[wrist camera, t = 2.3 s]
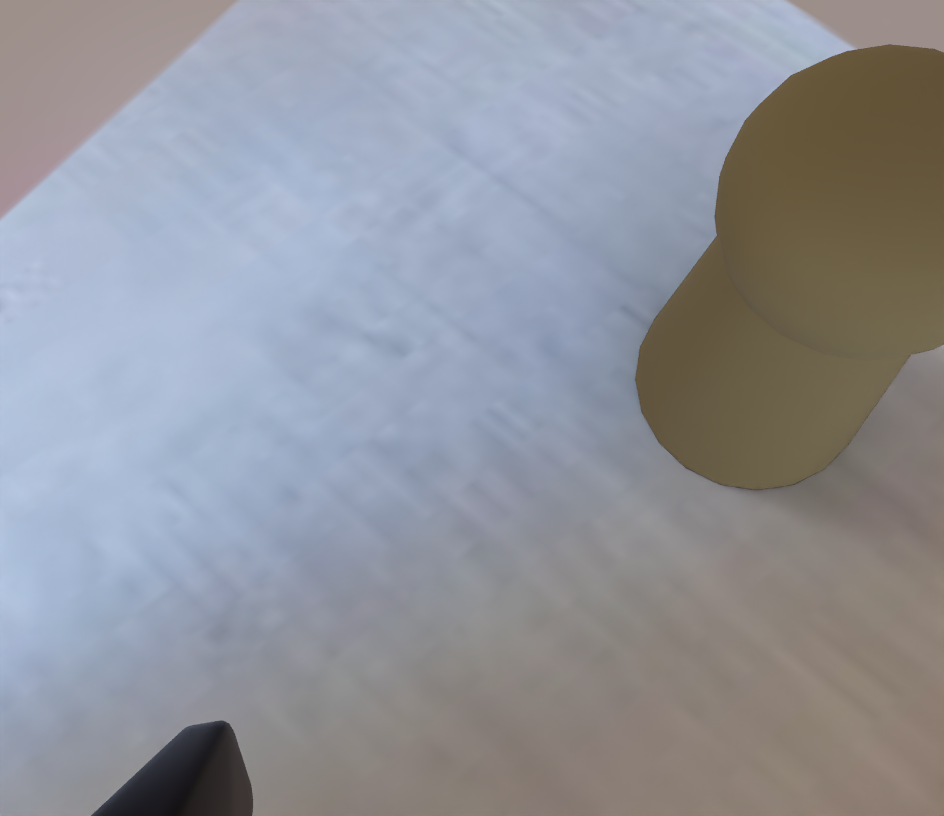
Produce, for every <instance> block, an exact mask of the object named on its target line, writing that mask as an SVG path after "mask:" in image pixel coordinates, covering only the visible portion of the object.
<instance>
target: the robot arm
mask: <svg viewBox="0 0 944 816" xmlns="http://www.w3.org/2000/svg"><path fill="white" fill-rule="evenodd" d="M252 812H253V794H252V787H251V783H250V780H249V777H248V773H247V770H246V767H245V764H244V761H243V758H242V755H241V752H240V749H239V746H238V742H237V739H236V736H235V733H234V731H233V729H232V727H231V726H230V724H229V723H227V722H225V721H215V722H209V723H203V724H197V725H192V726H188V727H186V728H185V729H184V730H182V731H181V732H180V733H179V734H178V735H177V736H176V737H175V738H174V739H172V740H171V741H170V742H169V743H168V744H167V745H166V746H165V747H164V748H163V749H162V750H161V751H160V752H159V753H157V754H156V755H155V756H154V757H153V758H152V759H151V760H150V761H149V762H148V763H147V764H146V765H145V766H144V767H143V768H141V769H140V770H139V771H138V772H137V773H136V774H135V775H134V776H133V777H132V778H131V779H130V780H129V781H128V782H127V783H125V784H124V785H123V786H122V787H121V788H120V789H119V790H118V791H117V792H116V793H115V794H114V795H113V796H112V797H110V798H109V799H108V800H107V801H106V802H105V803H104V804H103V805H102V806H101V807H100V808H99V809H98V810H97V811H96V812H94V813H93V814H92V815H91V816H252Z"/></svg>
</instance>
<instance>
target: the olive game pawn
mask: <svg viewBox="0 0 944 816" xmlns="http://www.w3.org/2000/svg"><path fill="white" fill-rule="evenodd" d="M715 224H716V232H717V236H716V238H715V239H714V240H713V242H712V243H711V244H710V246H709V247H708V248H707V250H706V251H705V252H704V254H703V255H702V256H701V258H700V259H699V260H698V262H697V263H696V264H695V266H694V267H693V268H692V270H691V271H690V272H689V274H688V275H687V276H686V278H685V279H684V280H683V282H682V283H681V284H680V286H679V287H678V288H677V290H676V291H675V292H674V294H673V295H672V296H671V298H670V299H669V300H668V302H667V303H666V304H665V306H664V307H663V308H662V310H661V311H660V312H659V314H658V315H657V316H656V318H655V319H654V321H653V323H652V325H651V327H650V329H649V331H648V333H647V335H646V336H645V338H644V340H643V342H642V344H641V346H640V350H639V357H638V364H637V371H636V378H635V380H636V385H637V390H638V395H639V400H640V405H641V410H642V413H643V415H644V417H645V419H646V420H647V422H648V424H649V426H650V428H651V429H652V431H653V433H654V435H655V436H656V438H657V440H658V442H659V443H660V444H661V445H662V446H663V447H664V448H665V449H666V450H667V451H668V452H670V453H671V454H672V455H673V456H674V457H675V458H676V459H677V460H678V461H679V462H680V463H681V464H682V465H683V466H685V467H686V468H688V469H690V470H692V471H694V472H696V473H698V474H700V475H702V476H704V477H706V478H708V479H710V480H712V481H714V482H716V483H718V484H722V485H729V486H735V487H741V488H747V489H753V490H760V489H767V488H774V487H781V486H788V485H793V484H795V483H797V482H799V481H801V480H803V479H805V478H807V477H809V476H811V475H813V474H815V473H817V472H819V471H821V470H823V469H825V468H826V467H827V466H828V465H829V464H830V463H831V462H832V461H833V460H834V459H835V458H836V457H837V456H838V455H839V454H840V452H841V451H842V450H843V449H844V448H845V447H846V446H847V445H848V444H849V443H850V441H851V440H852V438H853V437H854V436H855V434H856V433H857V431H858V430H859V428H860V427H861V426H862V424H863V423H864V421H865V420H866V418H867V417H868V415H869V414H870V413H871V411H872V410H873V408H874V407H875V405H876V404H877V403H878V401H879V400H880V398H881V397H882V395H883V394H884V392H885V391H886V390H887V388H888V387H889V385H890V384H891V382H892V381H893V380H894V378H895V377H896V375H897V374H898V372H899V371H900V369H901V368H902V367H903V365H904V364H905V362H906V361H907V359H908V358H909V357H910V355H911V354H916V353H920V352H925V351H929V350H933V349H935V348H937V347H939V346H942V345H944V53H943V52H941V51H938V50H935V49H928V48H919V47H909V46H899V45H884V46H878V47H871V48H864V49H858V50H852V51H846V52H844V53H841V54H838V55H835V56H832V57H830V58H828V59H826V60H823V61H821V62H819V63H817V64H815V65H813V66H810V67H808V68H806V69H804V70H802V71H800V72H797V73H795V74H793V75H791V76H790V77H789V78H788V79H787V80H785V81H784V82H783V83H782V84H781V85H780V86H779V87H778V88H777V89H776V90H775V91H773V92H772V93H771V94H770V95H769V96H768V97H767V98H766V99H765V100H764V101H763V102H762V103H760V104H759V105H758V107H757V108H756V109H755V110H754V111H753V112H752V113H751V114H750V115H749V117H748V118H747V119H746V120H745V122H744V124H743V126H742V127H741V129H740V131H739V133H738V135H737V137H736V139H735V141H734V143H733V145H732V146H731V148H730V150H729V152H728V154H727V156H726V158H725V161H724V164H723V167H722V170H721V173H720V176H719V185H718V193H717V201H716V209H715Z"/></svg>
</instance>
